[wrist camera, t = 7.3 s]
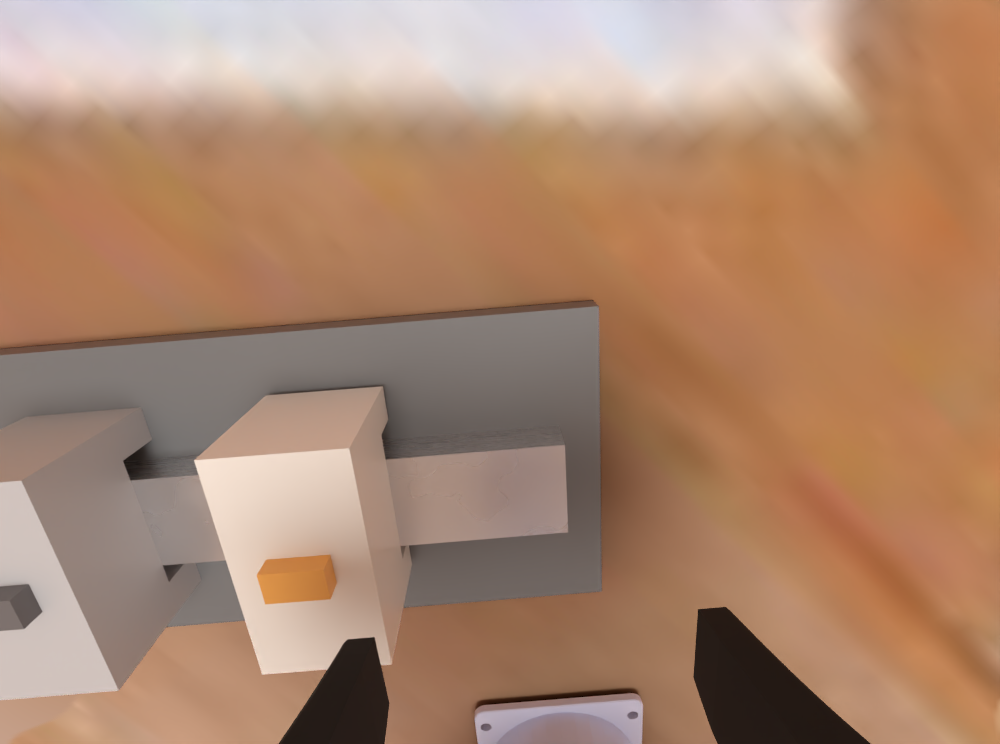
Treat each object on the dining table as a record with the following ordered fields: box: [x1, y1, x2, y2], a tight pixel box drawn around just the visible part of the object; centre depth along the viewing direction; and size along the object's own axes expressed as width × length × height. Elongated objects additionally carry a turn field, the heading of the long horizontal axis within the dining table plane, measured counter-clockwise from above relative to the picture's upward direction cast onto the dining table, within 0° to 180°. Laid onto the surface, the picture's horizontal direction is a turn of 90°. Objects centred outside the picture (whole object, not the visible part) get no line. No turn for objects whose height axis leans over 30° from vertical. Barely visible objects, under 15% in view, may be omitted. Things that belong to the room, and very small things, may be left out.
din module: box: [194, 386, 412, 675], centre depth 16 cm, size 8×4×5 cm, turn 4°
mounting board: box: [0, 300, 602, 627], centre depth 19 cm, size 12×22×1 cm, turn 94°
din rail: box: [123, 425, 568, 565], centre depth 18 cm, size 4×19×2 cm, turn 95°
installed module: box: [0, 407, 201, 700], centre depth 16 cm, size 8×4×5 cm, turn 4°
